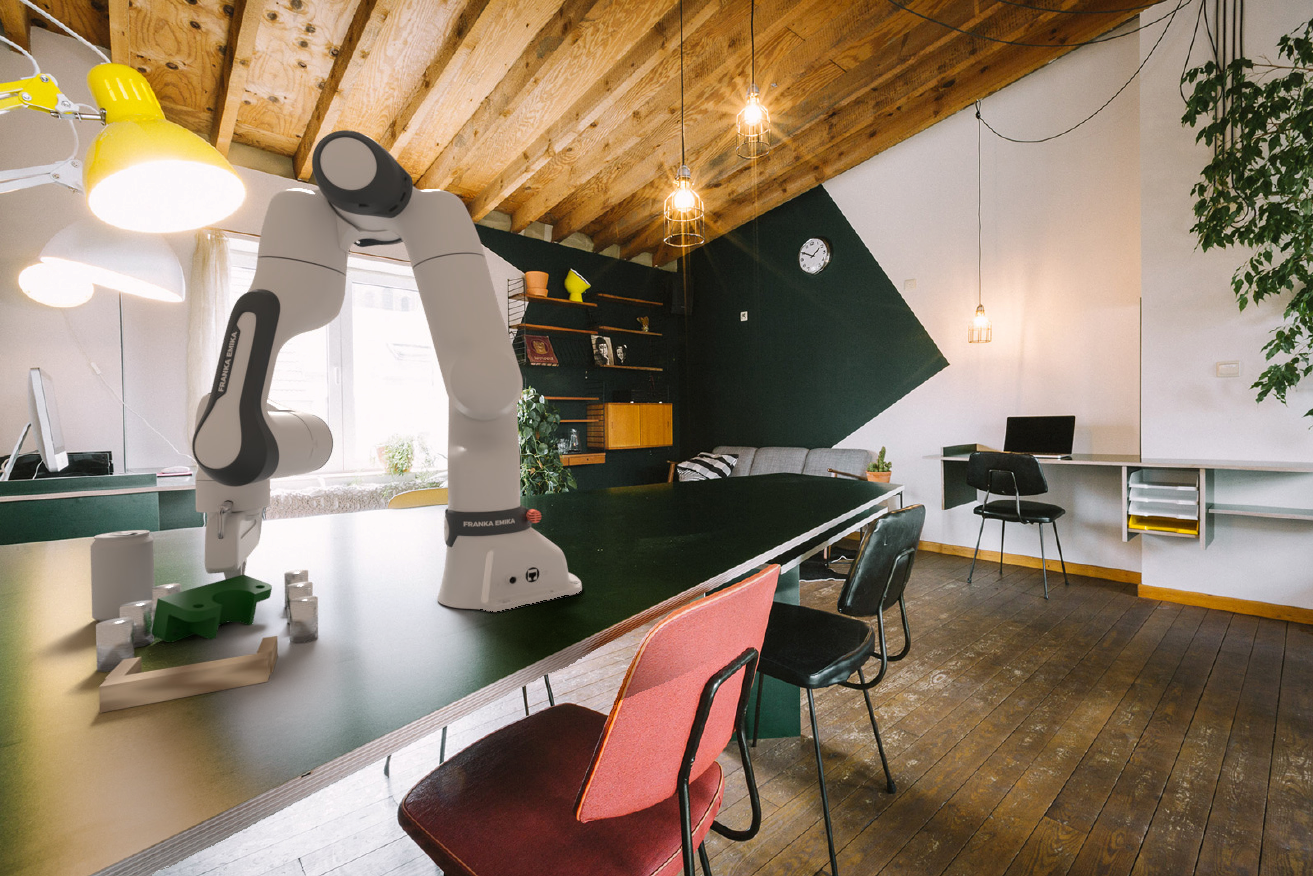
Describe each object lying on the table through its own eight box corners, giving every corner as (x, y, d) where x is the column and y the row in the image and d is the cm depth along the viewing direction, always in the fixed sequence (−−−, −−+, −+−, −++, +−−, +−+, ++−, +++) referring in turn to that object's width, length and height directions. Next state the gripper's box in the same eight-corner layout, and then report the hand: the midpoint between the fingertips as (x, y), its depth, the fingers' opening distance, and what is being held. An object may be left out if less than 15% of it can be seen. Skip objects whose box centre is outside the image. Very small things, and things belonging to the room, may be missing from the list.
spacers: (324, 598, 85) (323, 567, 85) (317, 640, 69) (316, 601, 69) (146, 622, 75) (146, 586, 75) (88, 677, 59) (87, 631, 58)
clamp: (198, 675, 69) (179, 623, 65) (162, 660, 70) (141, 607, 66) (282, 611, 79) (271, 563, 75) (250, 598, 80) (236, 550, 76)
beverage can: (115, 626, 74) (113, 538, 73) (79, 623, 75) (77, 536, 75) (166, 610, 80) (165, 529, 80) (132, 608, 81) (130, 528, 81)
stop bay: (277, 656, 64) (277, 635, 64) (269, 681, 58) (269, 657, 58) (124, 682, 57) (123, 659, 57) (96, 713, 51) (96, 687, 51)
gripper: (248, 504, 74) (250, 605, 74) (268, 489, 92) (269, 570, 92) (188, 507, 71) (190, 613, 71) (221, 491, 89) (223, 575, 89)
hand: (235, 588), depth 82 cm, fingers closed
